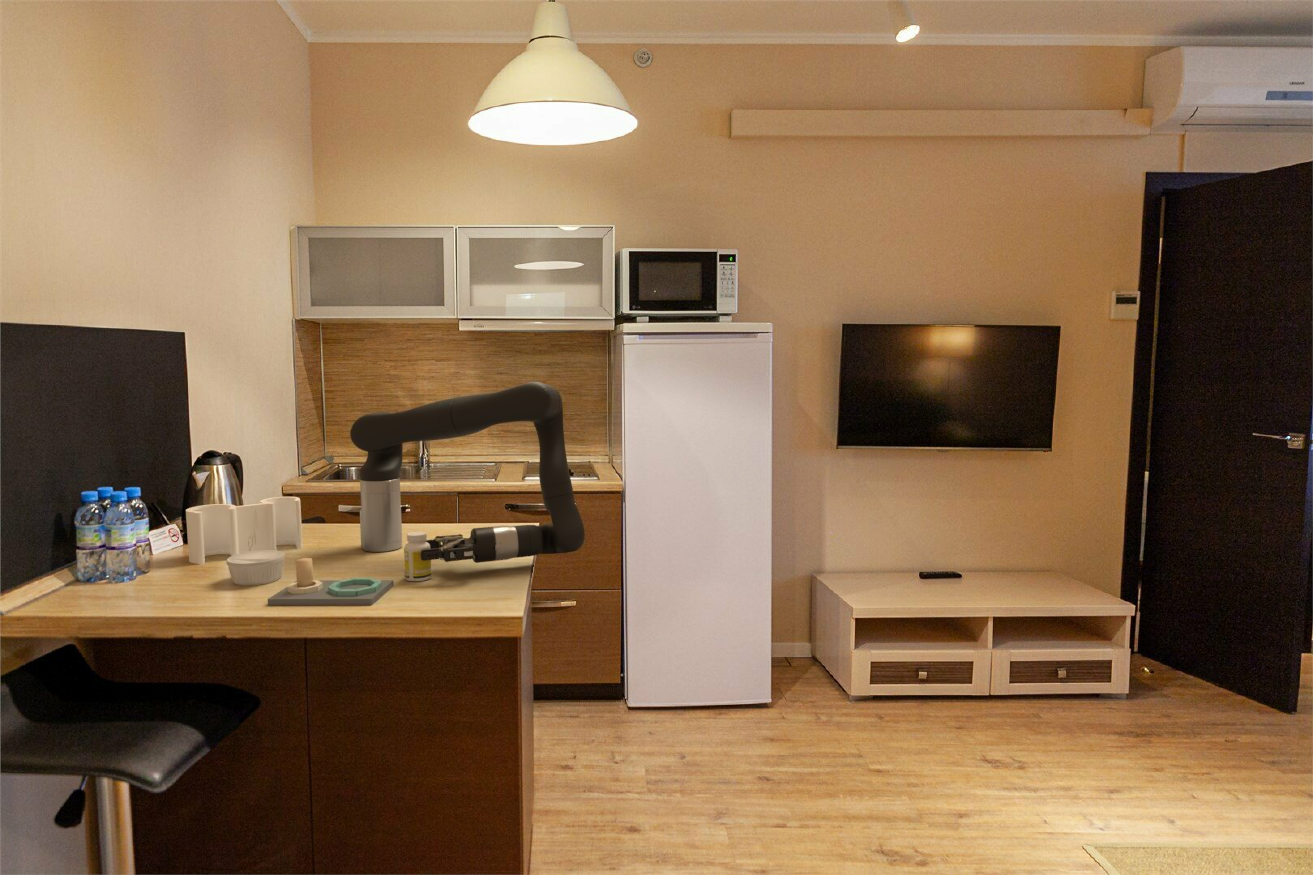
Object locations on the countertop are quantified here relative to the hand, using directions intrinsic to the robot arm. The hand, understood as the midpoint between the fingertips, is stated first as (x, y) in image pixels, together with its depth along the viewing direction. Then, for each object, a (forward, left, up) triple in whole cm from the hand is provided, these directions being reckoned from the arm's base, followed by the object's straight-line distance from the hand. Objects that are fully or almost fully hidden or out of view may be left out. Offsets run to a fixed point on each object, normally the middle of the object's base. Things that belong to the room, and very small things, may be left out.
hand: (418, 550), depth 179 cm
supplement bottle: (0, 0, -6) cm, 6 cm away
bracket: (-53, -10, -6) cm, 54 cm away
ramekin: (-27, -21, -6) cm, 35 cm away
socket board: (-4, -18, -6) cm, 19 cm away
